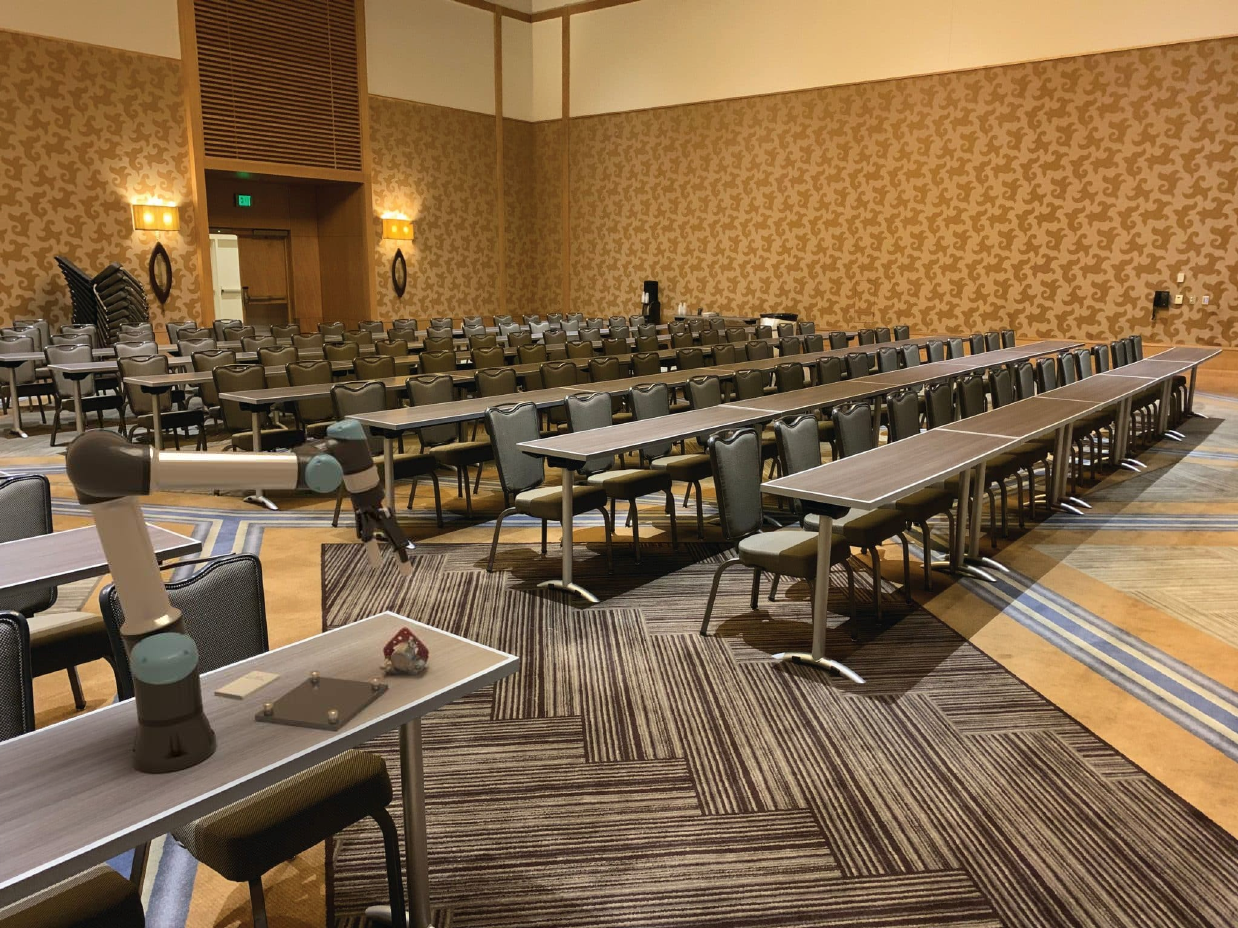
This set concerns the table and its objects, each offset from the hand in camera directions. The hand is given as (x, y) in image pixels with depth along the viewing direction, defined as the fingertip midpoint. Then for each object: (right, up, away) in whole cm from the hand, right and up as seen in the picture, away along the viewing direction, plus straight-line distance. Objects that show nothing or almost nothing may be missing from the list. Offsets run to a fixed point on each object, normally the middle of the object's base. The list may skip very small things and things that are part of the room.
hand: (392, 570), depth 212 cm
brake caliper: (+2, -26, +7) cm, 27 cm away
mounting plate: (-13, -29, -10) cm, 33 cm away
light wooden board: (-34, -28, 0) cm, 44 cm away
